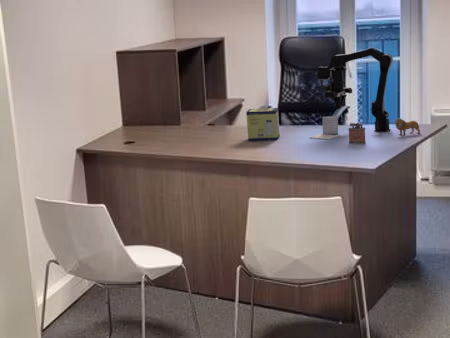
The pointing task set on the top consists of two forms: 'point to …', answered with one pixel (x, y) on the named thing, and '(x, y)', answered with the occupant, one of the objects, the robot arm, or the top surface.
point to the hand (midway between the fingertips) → (338, 108)
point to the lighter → (356, 134)
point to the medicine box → (330, 125)
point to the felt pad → (324, 136)
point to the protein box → (263, 124)
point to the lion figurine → (406, 126)
